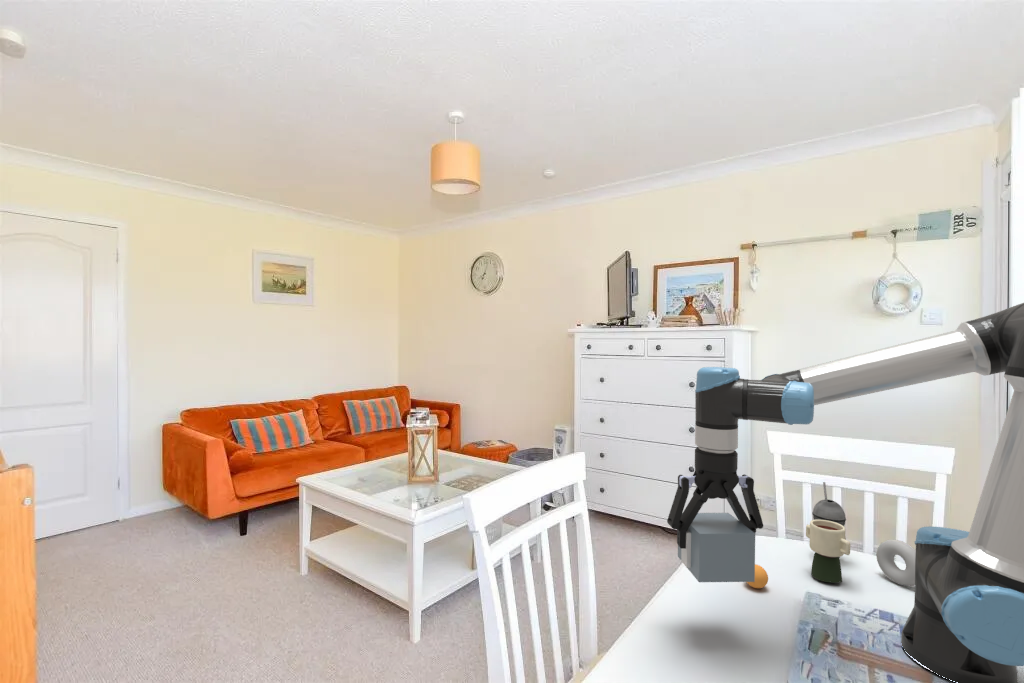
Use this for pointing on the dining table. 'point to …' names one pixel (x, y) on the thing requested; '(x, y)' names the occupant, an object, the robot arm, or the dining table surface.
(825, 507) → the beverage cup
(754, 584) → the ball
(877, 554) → the donut
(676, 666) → the dining table surface
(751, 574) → the grey rectangular box
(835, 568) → the character mug
